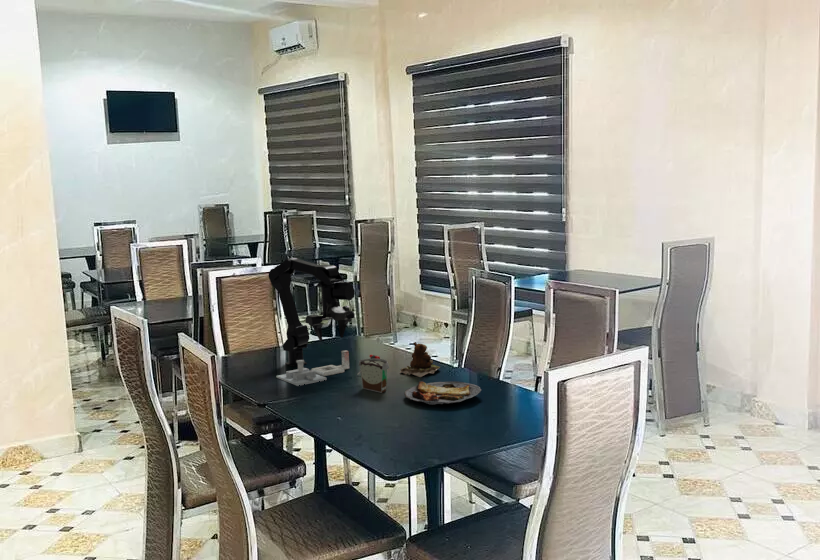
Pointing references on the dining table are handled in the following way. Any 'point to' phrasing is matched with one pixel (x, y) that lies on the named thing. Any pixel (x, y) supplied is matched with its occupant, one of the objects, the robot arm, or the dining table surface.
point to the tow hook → (371, 358)
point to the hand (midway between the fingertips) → (331, 339)
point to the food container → (374, 374)
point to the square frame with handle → (334, 369)
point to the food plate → (442, 392)
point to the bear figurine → (420, 362)
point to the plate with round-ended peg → (301, 375)
